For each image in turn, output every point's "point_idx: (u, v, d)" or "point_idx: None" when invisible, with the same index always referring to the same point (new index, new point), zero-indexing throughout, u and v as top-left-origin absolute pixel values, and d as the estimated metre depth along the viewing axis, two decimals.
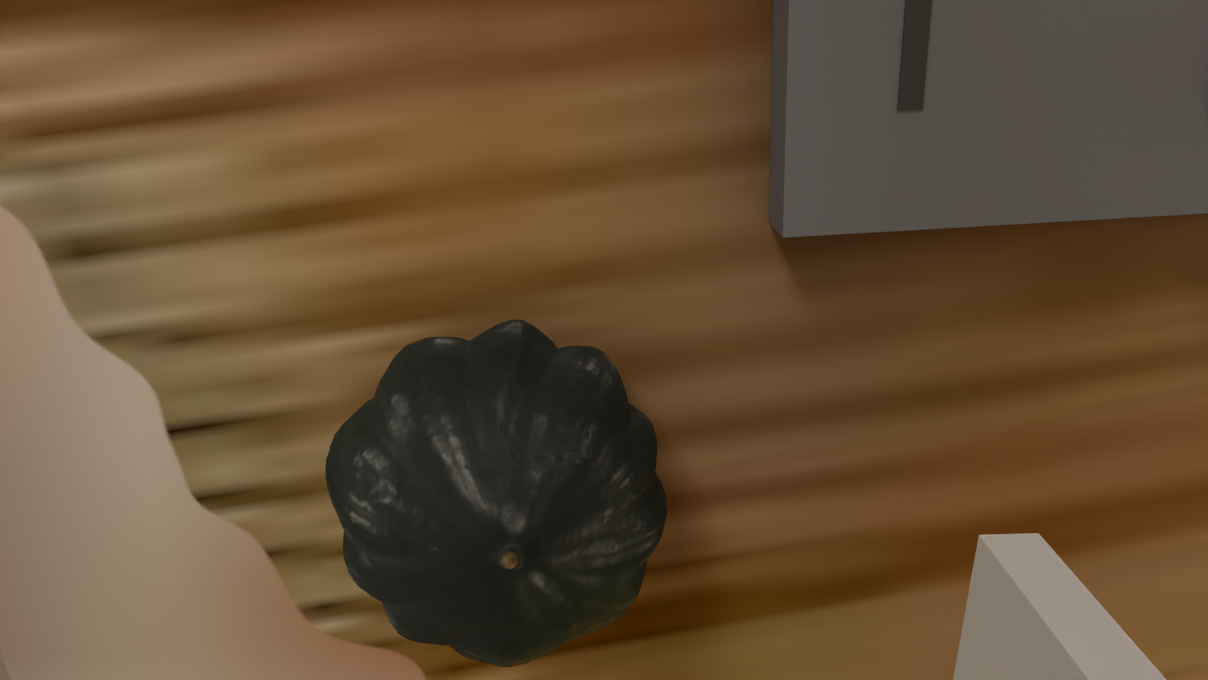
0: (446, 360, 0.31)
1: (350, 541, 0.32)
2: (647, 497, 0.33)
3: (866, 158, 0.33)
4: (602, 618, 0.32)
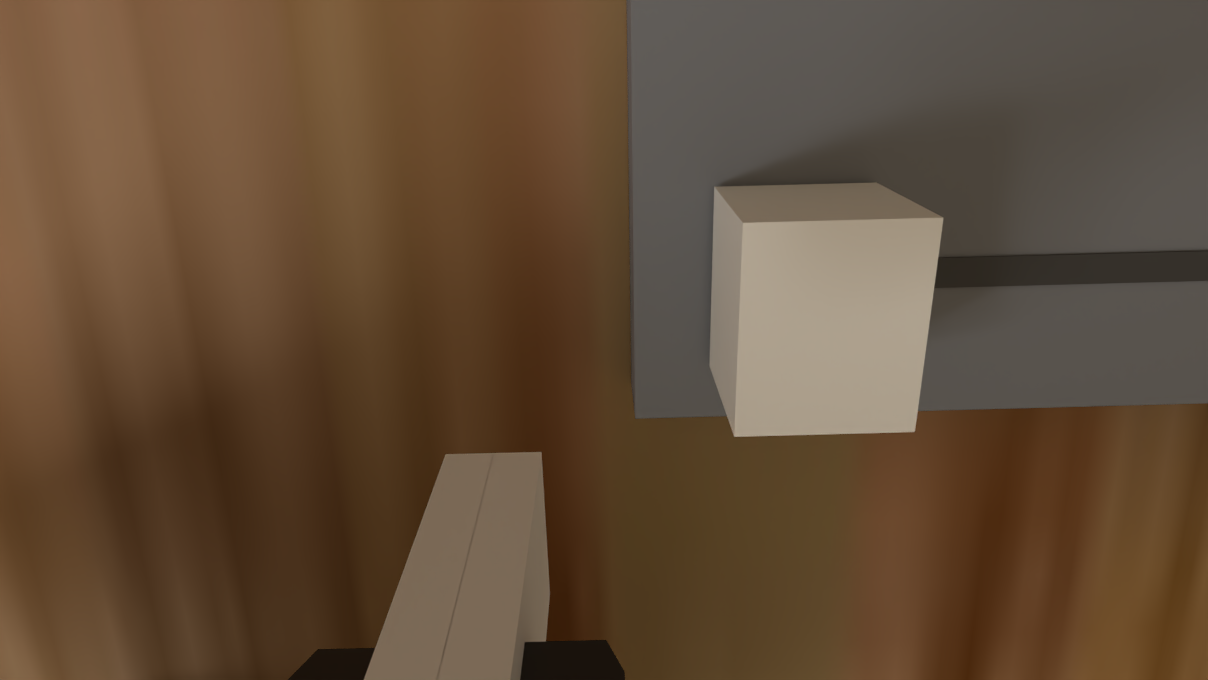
0: None
1: None
2: None
3: None
4: None
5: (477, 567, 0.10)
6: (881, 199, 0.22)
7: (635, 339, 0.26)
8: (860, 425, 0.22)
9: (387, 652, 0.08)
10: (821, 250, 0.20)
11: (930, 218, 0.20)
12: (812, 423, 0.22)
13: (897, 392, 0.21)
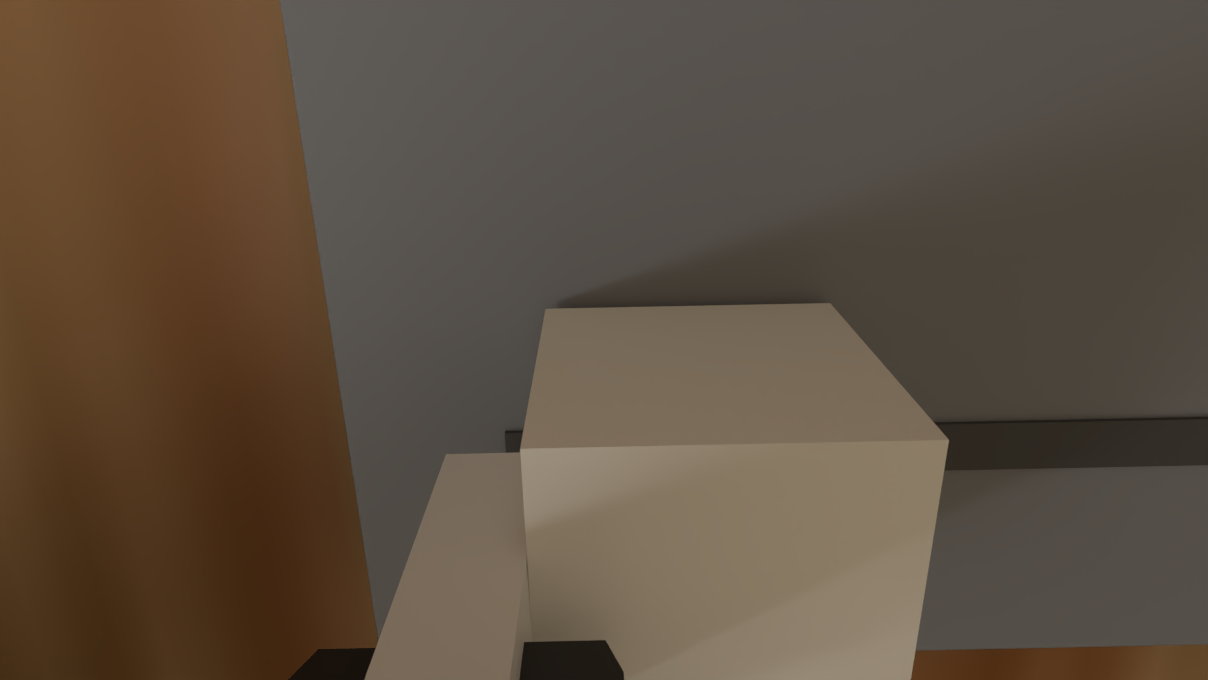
0: None
1: None
2: None
3: None
4: None
5: (477, 567, 0.10)
6: (829, 360, 0.11)
7: (366, 546, 0.16)
8: None
9: (388, 652, 0.08)
10: (691, 500, 0.09)
11: (921, 440, 0.09)
12: None
13: None
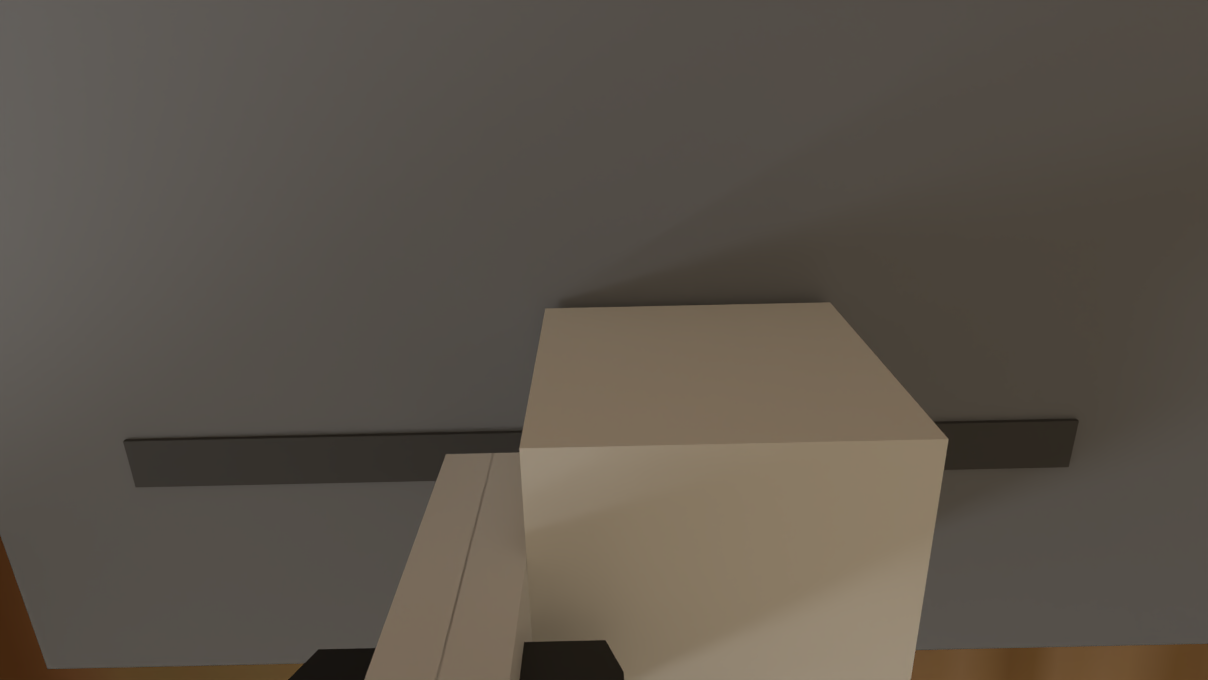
0: None
1: None
2: None
3: (1147, 511, 0.16)
4: None
5: (476, 567, 0.10)
6: (829, 359, 0.11)
7: (10, 554, 0.16)
8: None
9: (387, 652, 0.08)
10: (691, 500, 0.09)
11: (921, 438, 0.09)
12: None
13: None
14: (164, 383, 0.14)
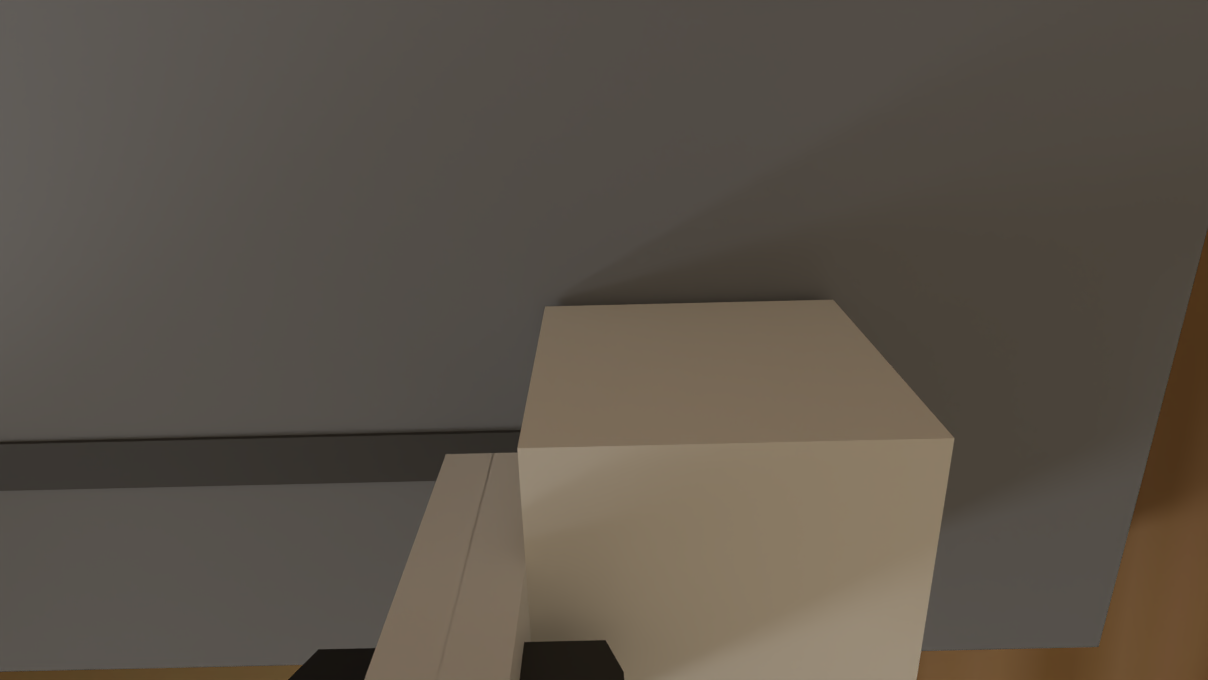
0: None
1: None
2: None
3: (973, 514, 0.16)
4: None
5: (477, 567, 0.10)
6: (832, 357, 0.11)
7: None
8: None
9: (387, 652, 0.08)
10: (693, 501, 0.09)
11: (926, 437, 0.09)
12: None
13: None
14: None
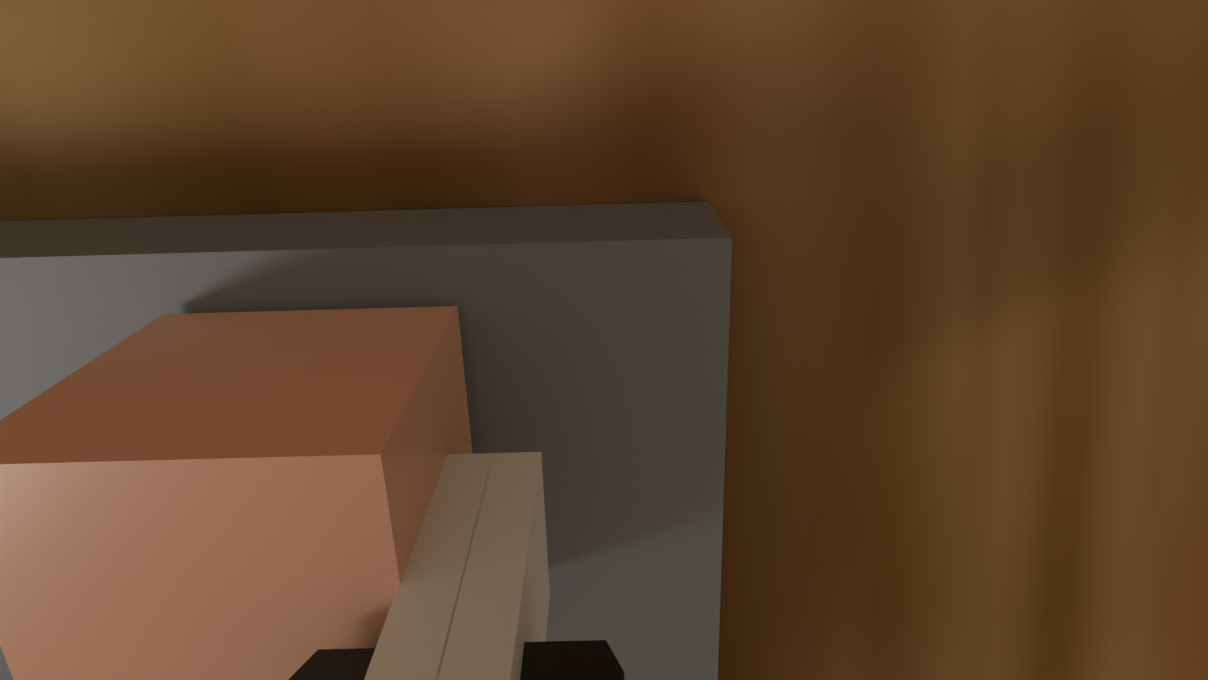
0: None
1: None
2: None
3: None
4: None
5: (477, 567, 0.10)
6: None
7: None
8: None
9: (387, 652, 0.08)
10: None
11: None
12: None
13: None
14: None
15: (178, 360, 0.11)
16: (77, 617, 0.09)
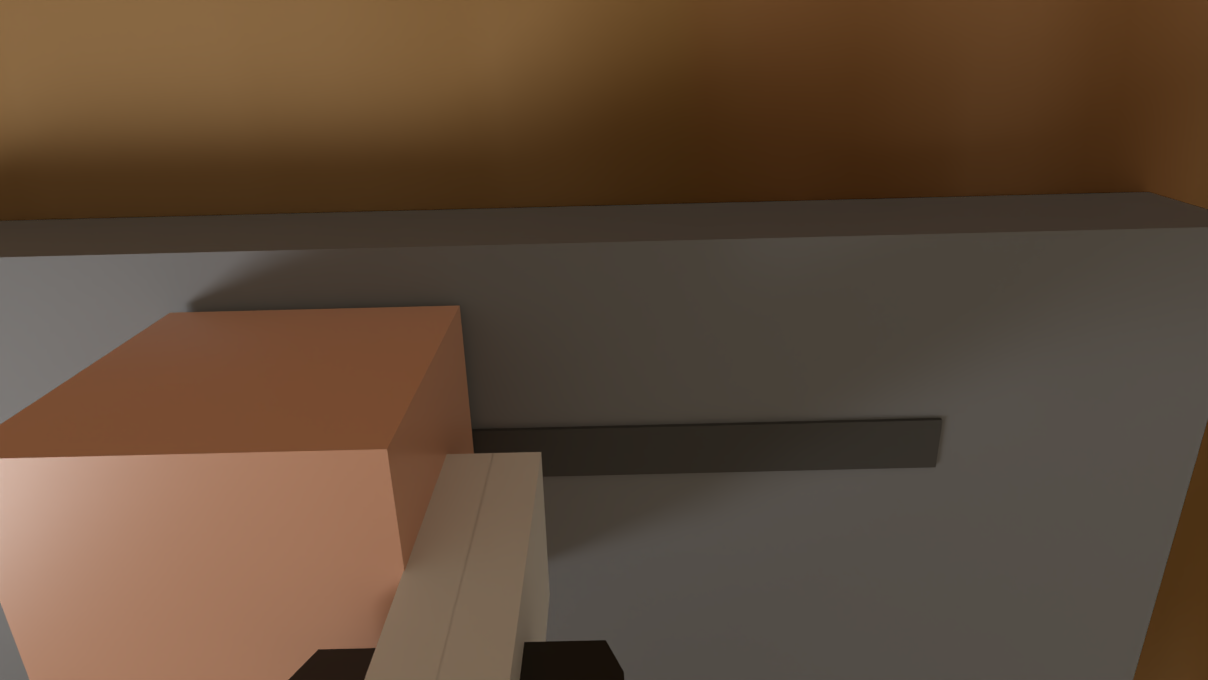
0: None
1: None
2: None
3: None
4: None
5: (477, 567, 0.10)
6: None
7: None
8: None
9: (387, 652, 0.08)
10: None
11: None
12: None
13: None
14: None
15: (187, 358, 0.12)
16: (89, 608, 0.10)
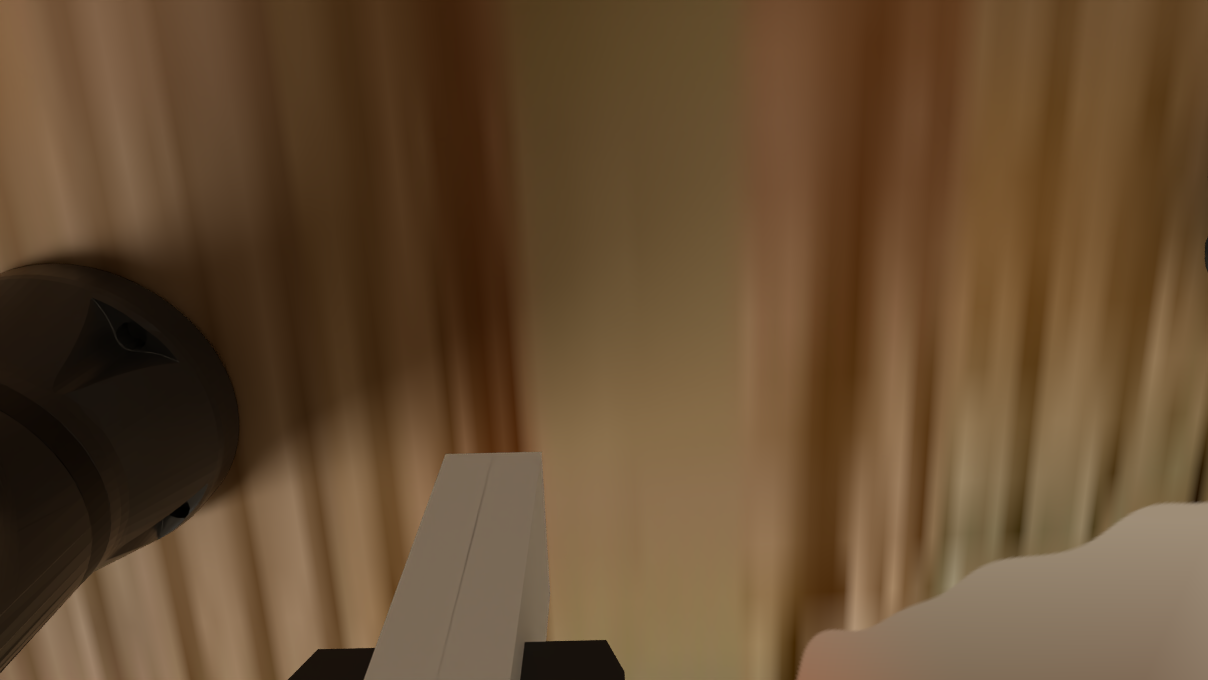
0: None
1: None
2: None
3: None
4: None
5: (477, 567, 0.10)
6: None
7: None
8: None
9: (387, 652, 0.08)
10: None
11: None
12: None
13: None
14: None
15: None
16: None
